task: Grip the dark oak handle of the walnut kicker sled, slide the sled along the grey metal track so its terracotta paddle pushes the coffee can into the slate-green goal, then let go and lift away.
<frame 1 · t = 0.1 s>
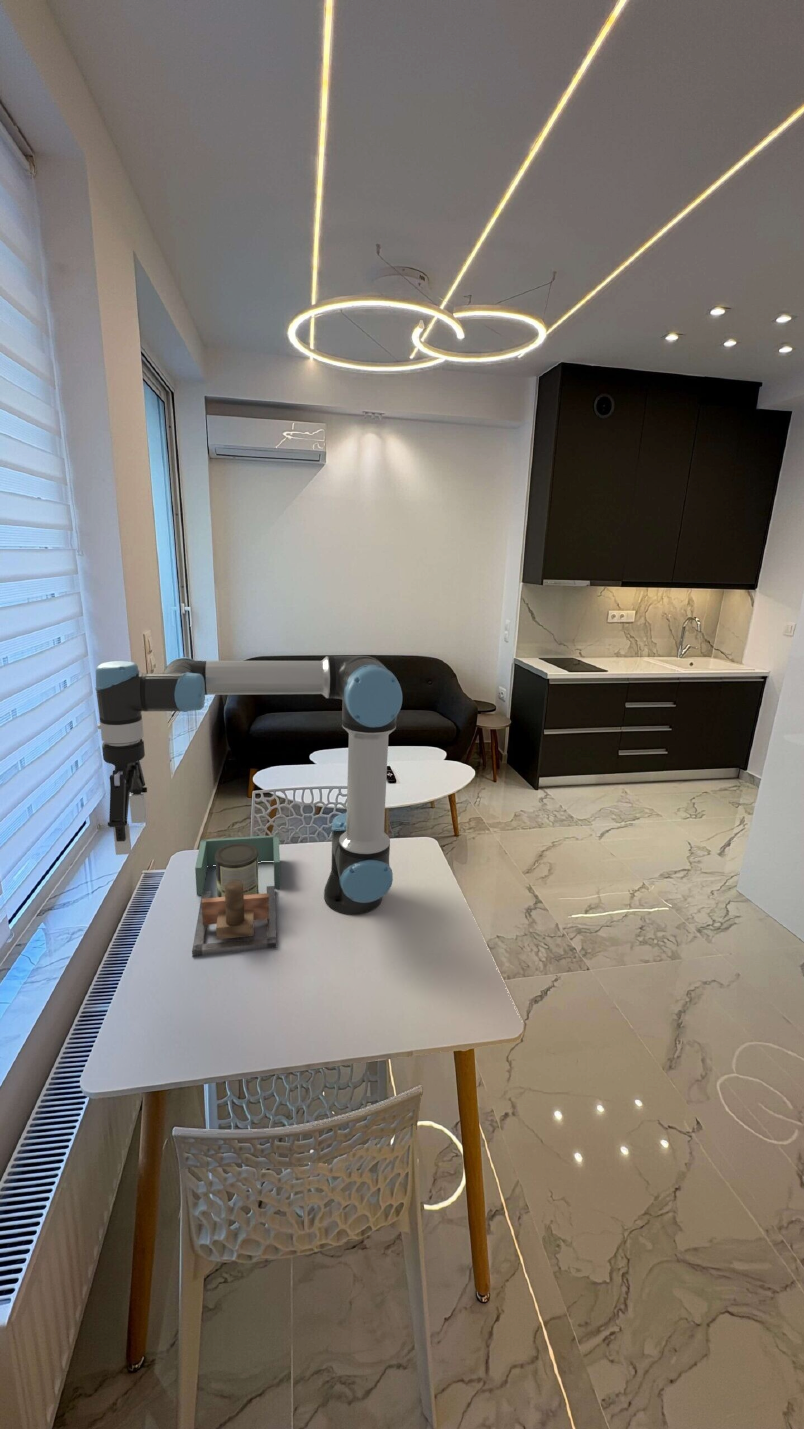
hand: (131, 837, 122), 28 cm above the table, tool pointing down, fingers open, 13 cm apart
goal: (240, 877, 159), on the table
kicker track: (237, 920, 141), on the table
kicker sled: (235, 904, 134), point 8 cm above the table, slide at 0.0 cm
coffee can: (238, 903, 148), on the table
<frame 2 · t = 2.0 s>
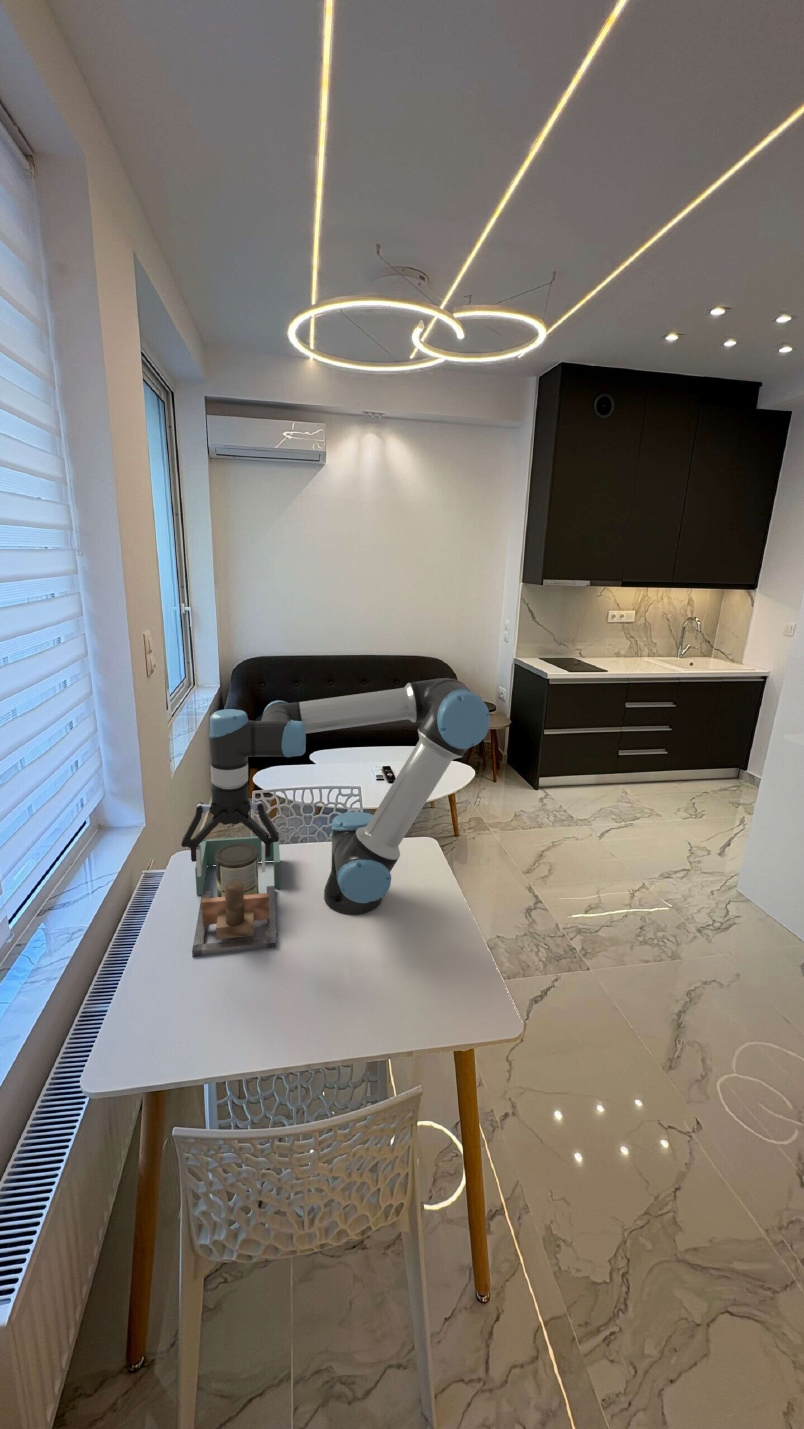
hand: (231, 871, 130), 18 cm above the table, tool pointing down, fingers open, 13 cm apart
nothing on the table moved.
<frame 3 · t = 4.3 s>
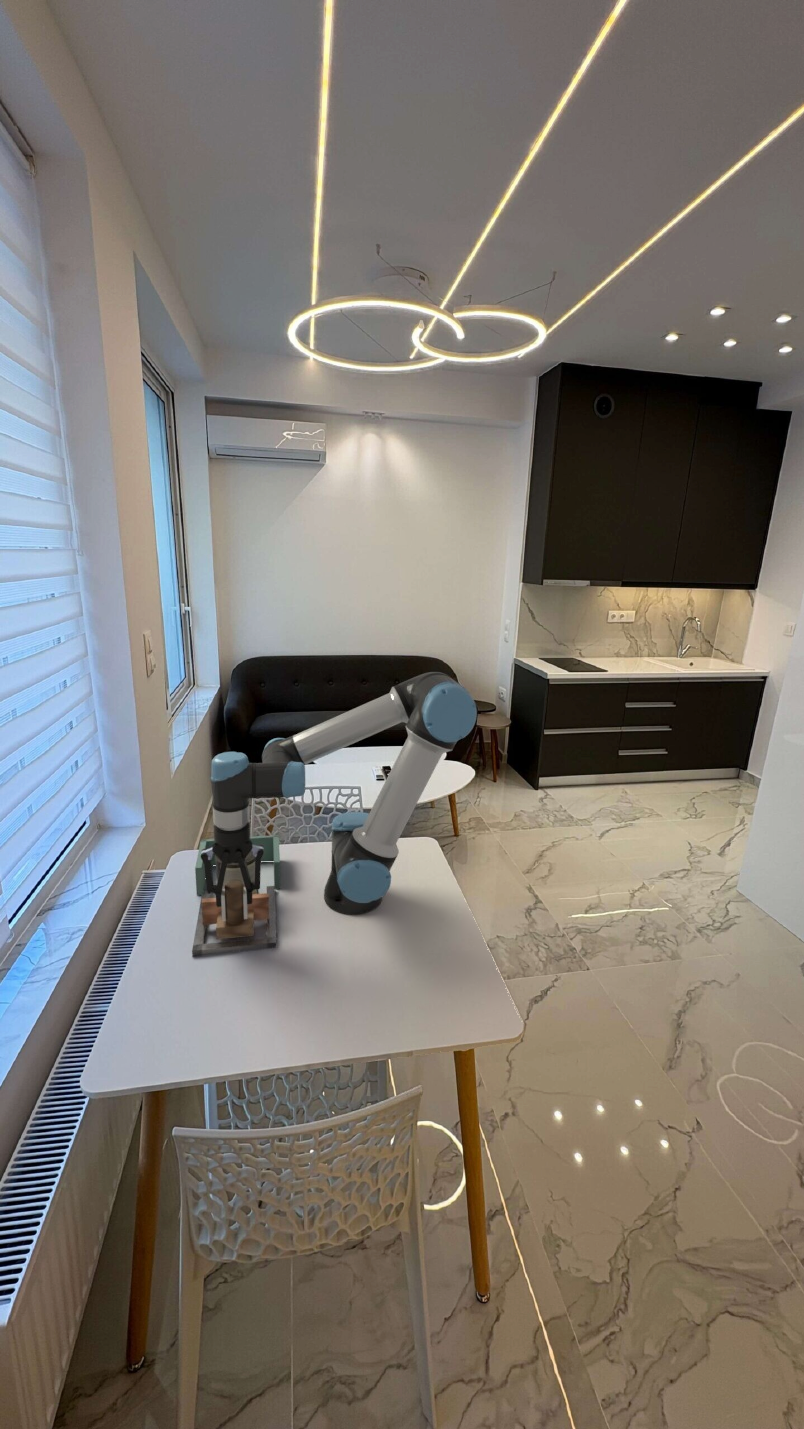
hand: (235, 916, 133), 6 cm above the table, tool pointing down, fingers closed on kicker sled, 4 cm apart
kicker sled: (235, 904, 134), point 8 cm above the table, slide at 0.0 cm, touching gripper
everything else where it was.
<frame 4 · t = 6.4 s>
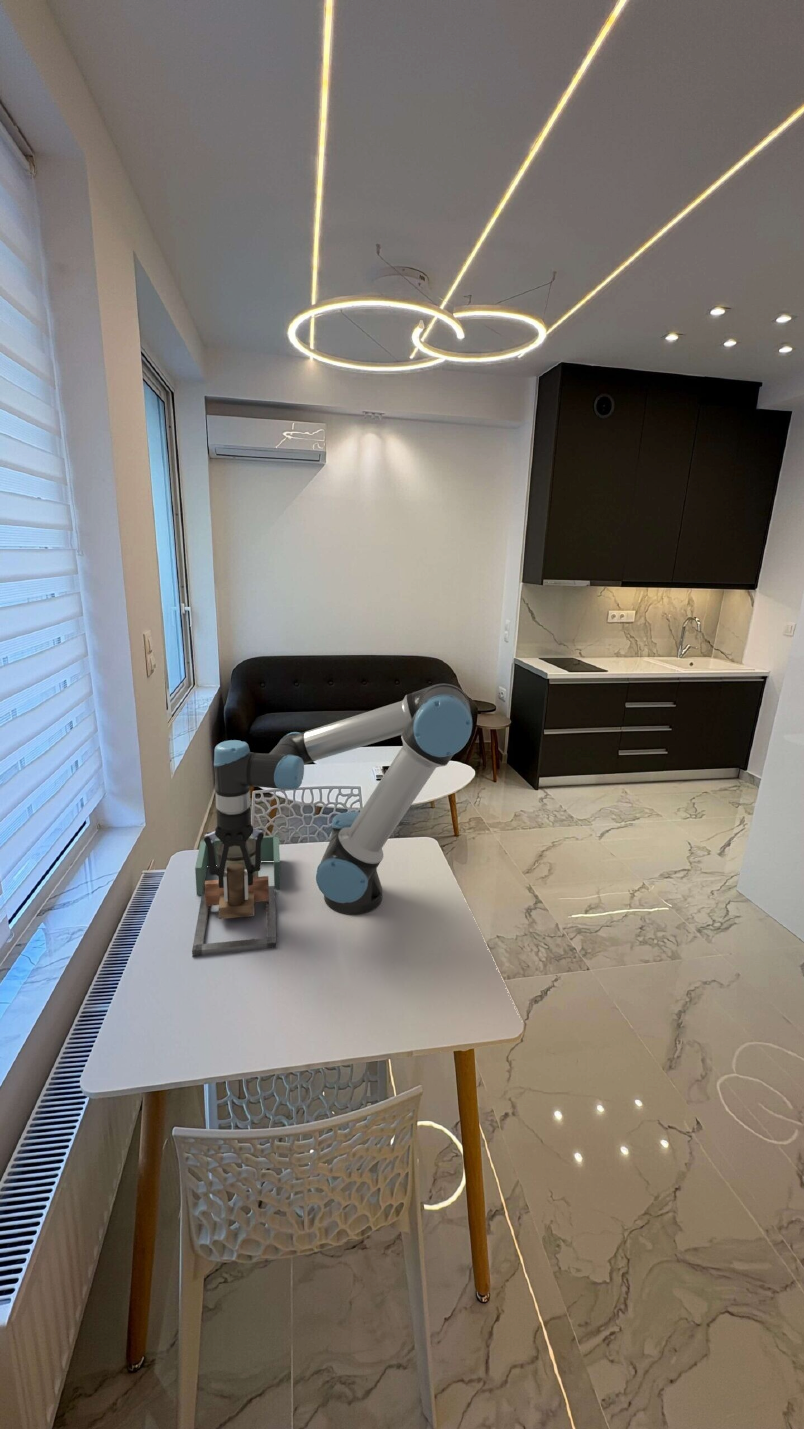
hand: (236, 897, 140), 6 cm above the table, tool pointing down, fingers closed on kicker sled, 4 cm apart
kicker sled: (236, 886, 141), point 8 cm above the table, slide at 7.5 cm, touching coffee can, gripper
coffee can: (238, 895, 151), on the table, touching kicker sled
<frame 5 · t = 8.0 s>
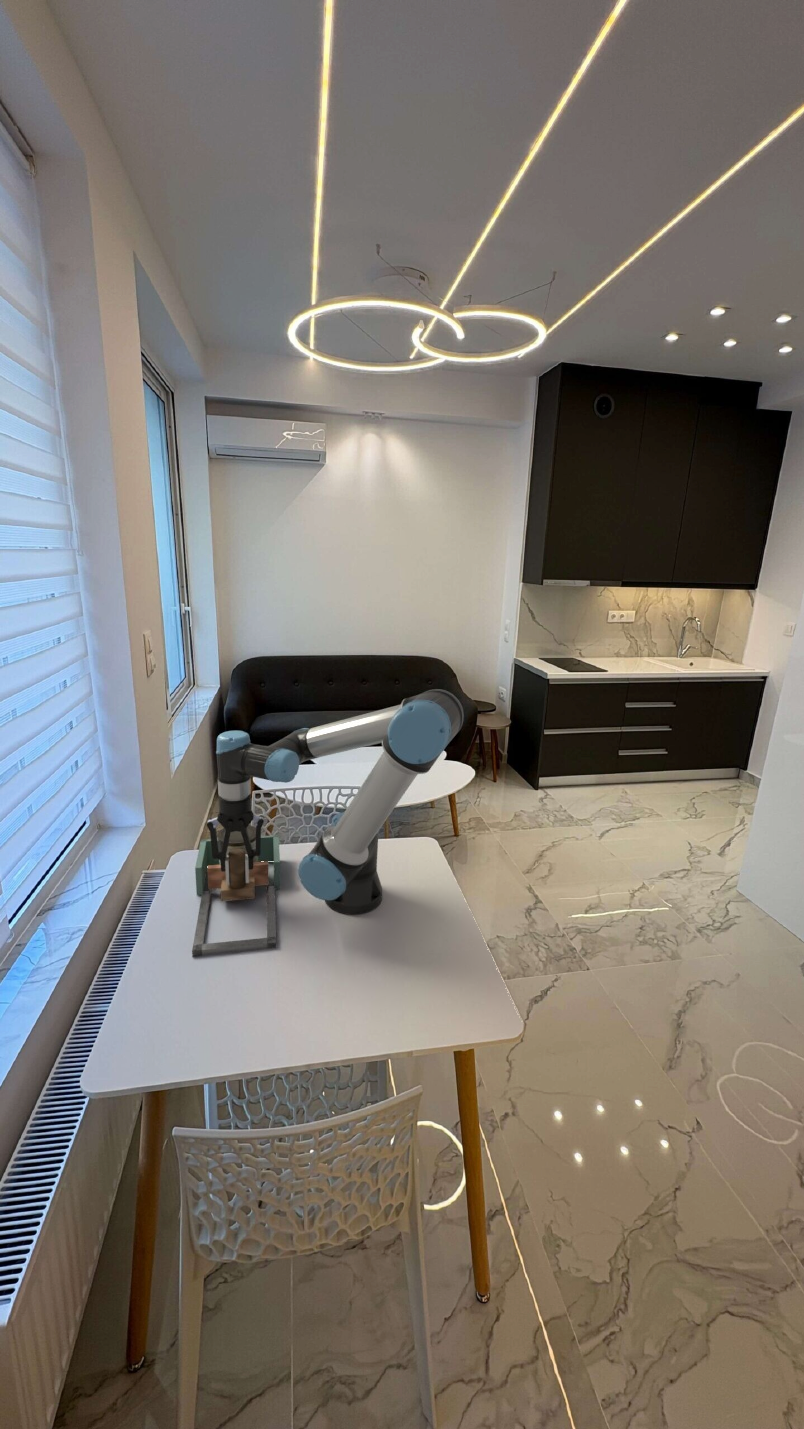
hand: (237, 880, 147), 6 cm above the table, tool pointing down, fingers closed on kicker sled, 4 cm apart
kicker sled: (237, 870, 148), point 8 cm above the table, slide at 14.7 cm, touching coffee can, gripper
coffee can: (239, 880, 158), on the table, touching kicker sled
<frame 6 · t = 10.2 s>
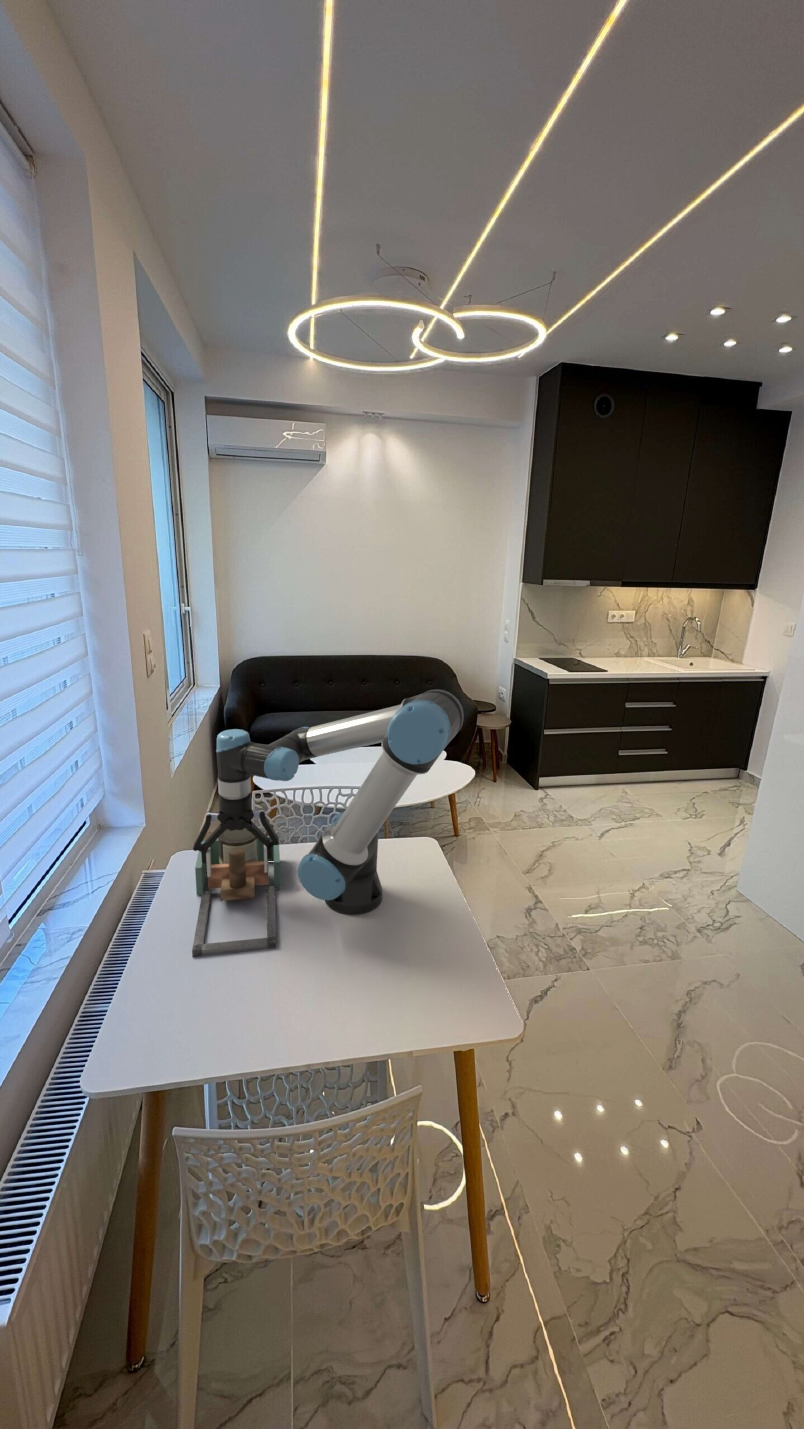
hand: (237, 871, 146), 8 cm above the table, tool pointing down, fingers open, 13 cm apart
kicker sled: (237, 870, 148), point 8 cm above the table, slide at 15.0 cm
coffee can: (239, 880, 158), on the table
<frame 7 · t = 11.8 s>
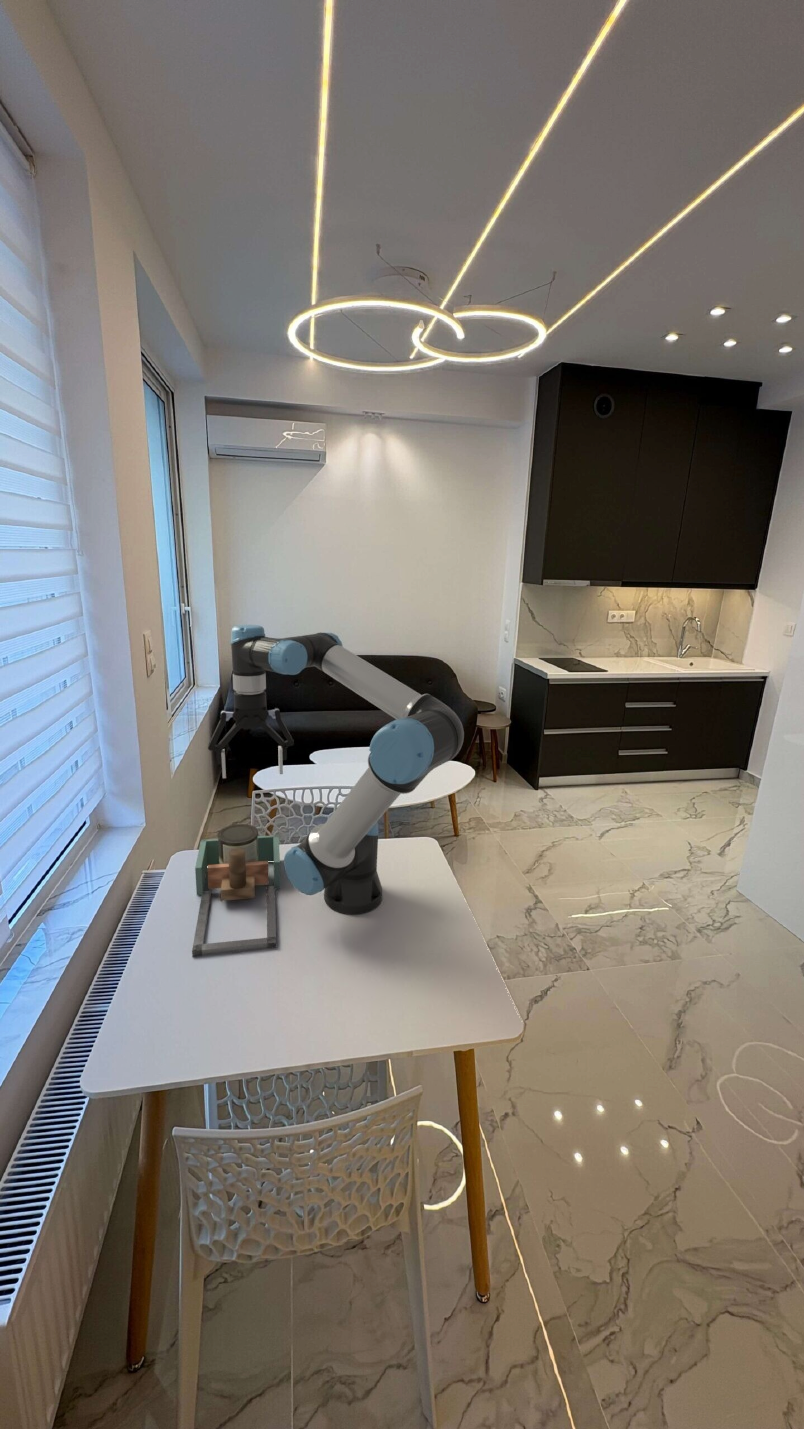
hand: (252, 774, 145), 33 cm above the table, tool pointing down, fingers open, 13 cm apart
nothing on the table moved.
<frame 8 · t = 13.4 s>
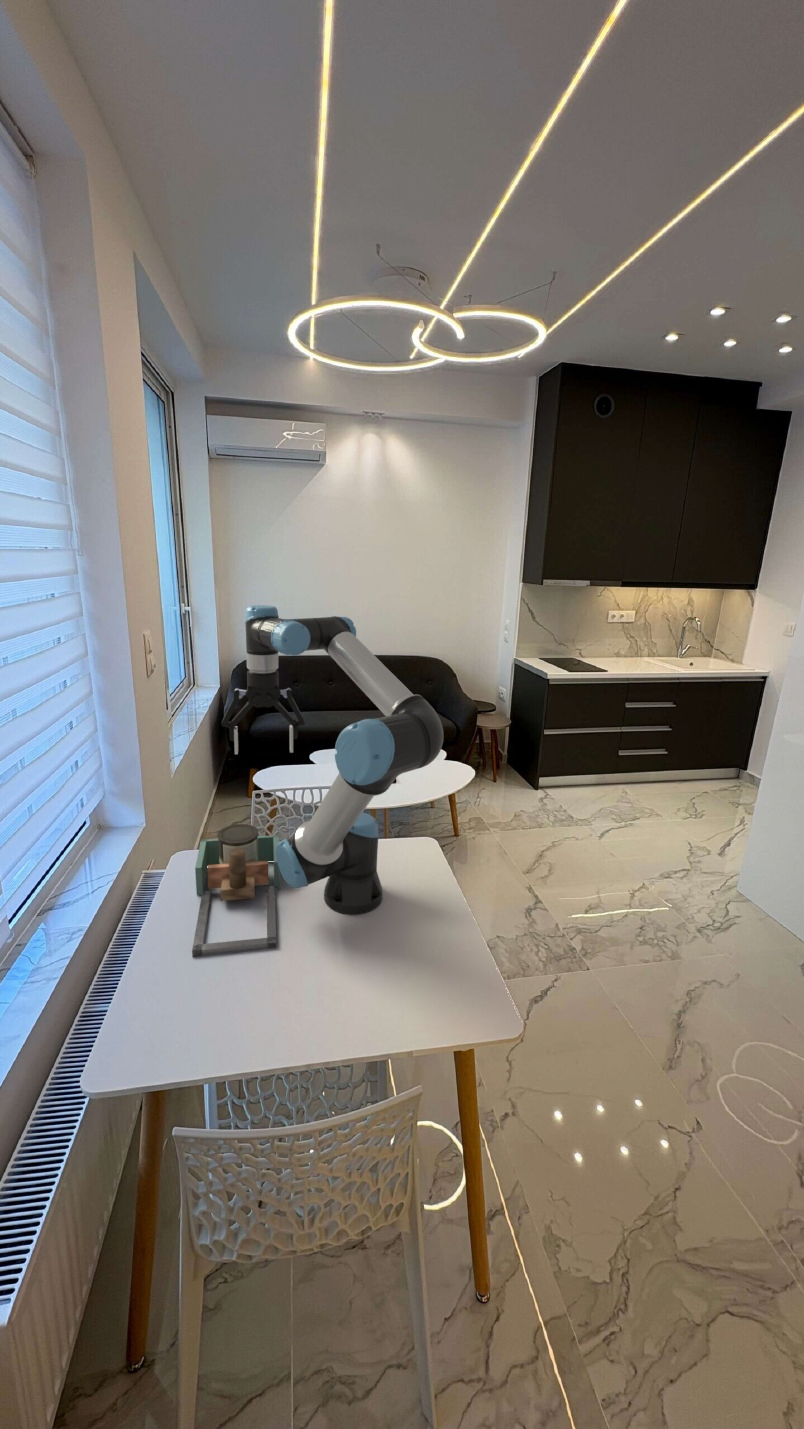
hand: (264, 751, 149), 37 cm above the table, tool pointing down, fingers open, 13 cm apart
nothing on the table moved.
at the end: coffee can inside the target area (2.1 cm from its centre), on the table; coffee can tilted 0°; kicker sled slide at 15.0 cm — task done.
